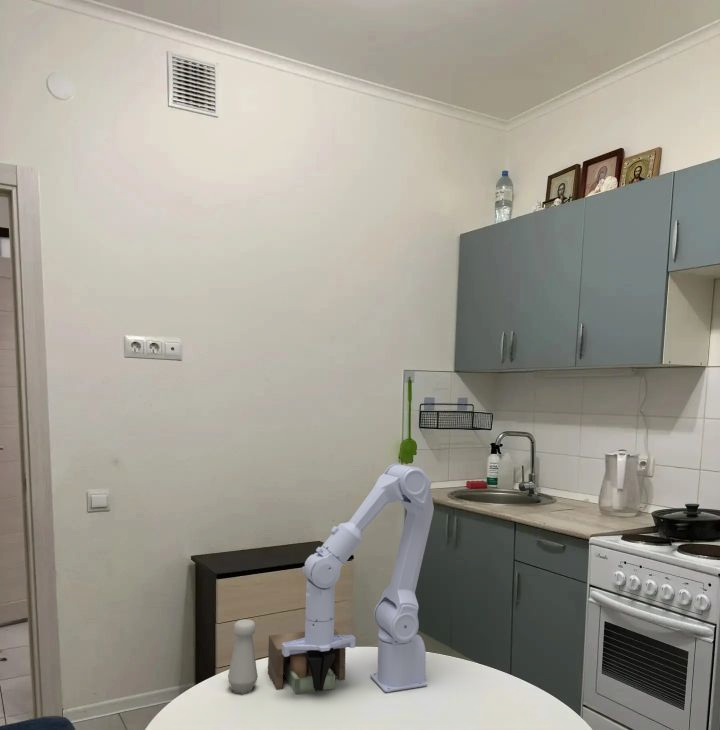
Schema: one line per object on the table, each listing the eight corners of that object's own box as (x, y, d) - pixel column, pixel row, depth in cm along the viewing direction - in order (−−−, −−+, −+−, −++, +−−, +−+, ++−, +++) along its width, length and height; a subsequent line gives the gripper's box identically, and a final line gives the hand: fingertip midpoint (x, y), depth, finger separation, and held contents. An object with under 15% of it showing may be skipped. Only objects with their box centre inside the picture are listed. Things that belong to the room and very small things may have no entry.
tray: (321, 670, 129) (321, 645, 129) (334, 688, 120) (335, 661, 121) (284, 675, 126) (285, 649, 126) (295, 694, 117) (296, 666, 118)
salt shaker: (250, 697, 116) (252, 627, 117) (222, 694, 117) (225, 625, 118) (261, 684, 121) (263, 617, 123) (234, 681, 123) (237, 615, 124)
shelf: (332, 664, 132) (333, 628, 132) (345, 679, 124) (345, 641, 125) (267, 673, 127) (268, 635, 127) (276, 689, 119) (277, 649, 120)
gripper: (289, 627, 112) (287, 703, 111) (361, 619, 118) (360, 692, 116) (280, 616, 119) (278, 687, 118) (348, 608, 124) (347, 677, 123)
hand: (318, 688), depth 118 cm, fingers closed, pressing on tray
